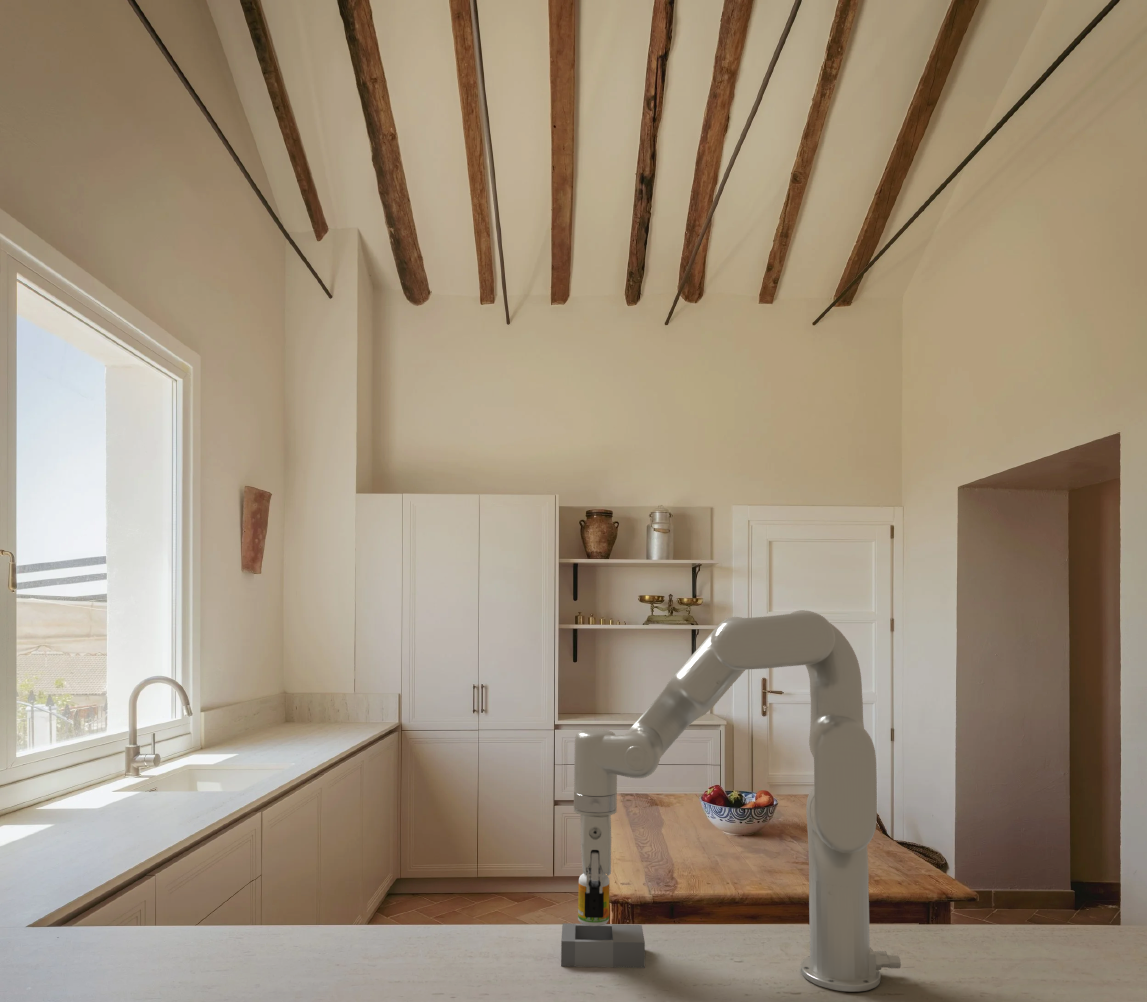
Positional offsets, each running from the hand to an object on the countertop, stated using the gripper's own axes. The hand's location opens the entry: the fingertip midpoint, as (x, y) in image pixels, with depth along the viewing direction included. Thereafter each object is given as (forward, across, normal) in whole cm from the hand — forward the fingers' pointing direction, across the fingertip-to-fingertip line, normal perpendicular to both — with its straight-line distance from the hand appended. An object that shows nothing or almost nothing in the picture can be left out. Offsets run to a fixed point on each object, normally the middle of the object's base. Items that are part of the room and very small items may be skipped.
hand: (593, 909), depth 154 cm
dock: (+8, 0, -2) cm, 8 cm away
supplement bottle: (+2, 0, 0) cm, 2 cm away
